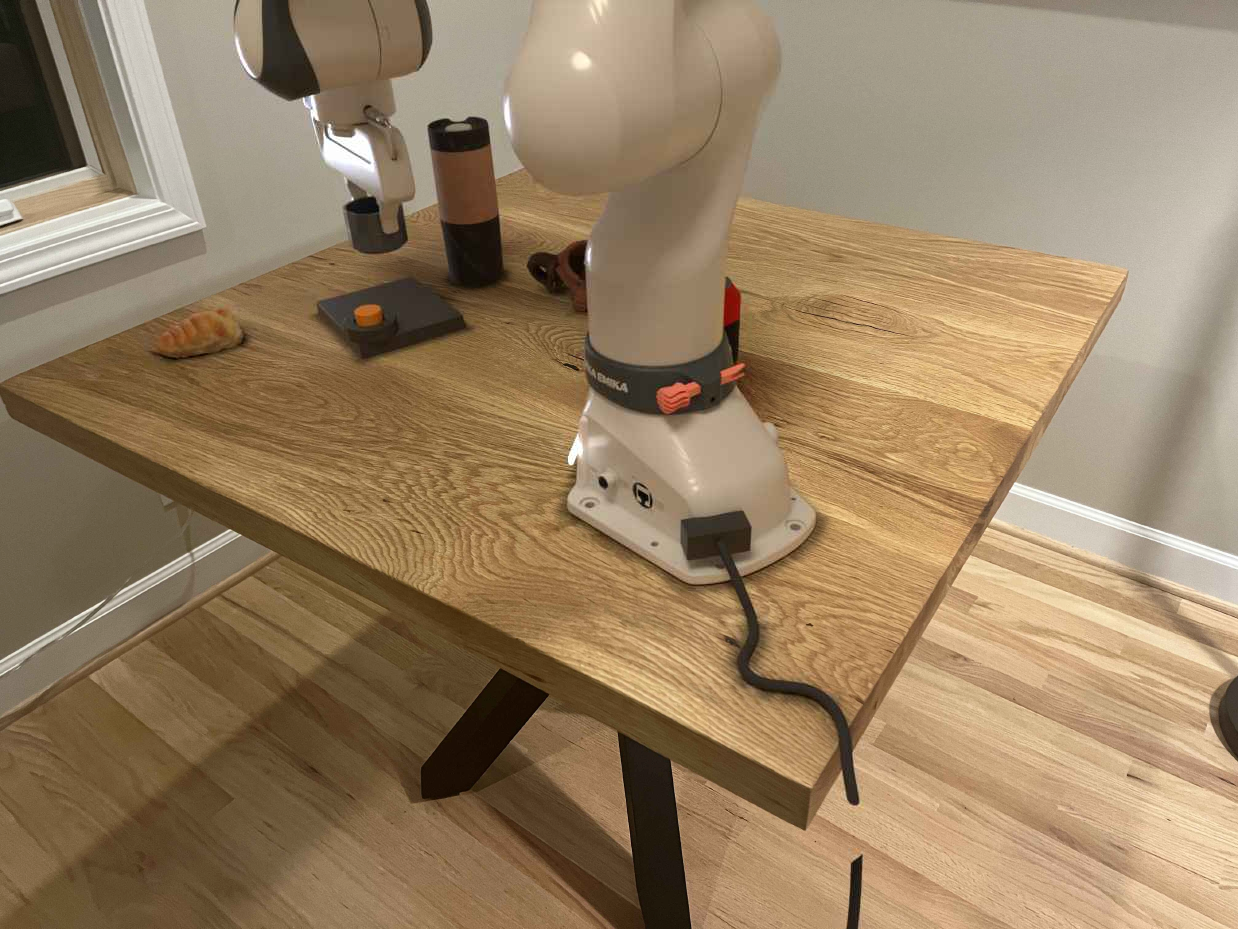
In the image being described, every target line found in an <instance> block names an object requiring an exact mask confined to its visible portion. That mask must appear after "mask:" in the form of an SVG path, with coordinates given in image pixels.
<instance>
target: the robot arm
mask: <svg viewBox="0 0 1238 929" xmlns="http://www.w3.org/2000/svg"><path fill="white" fill-rule="evenodd" d="M431 17H432V16H431V12H430V8H429V4H428V1H427V0H236V1H235V3H234V10H233V33H234V40H235V45H236V49H237V52H238V56H239V59H240V62H241V64H242V67H243V69H244V71H245V72H246V74H247V76H248V77H249V78H250V79H251V80H252V81H253V82H254V83H256V84H257V85H259V86H260V87H262V88H263V89H264V90H266V91H267V92H268V93H269V92H270V93H271V94H273V95H275V96H277V97H278V98H281V99H283V100H284V101H287V102H293V101H297V100H300V99H302V101H303V105H304V106H305V108H307V109H309V110H310V117H311V122H312V125H313V129H314V134H315V137H316V139H317V143H318V147H319V150H320V154H321V155H322V158H323V160H324V162H325V164H326V166H328V167H329V168H330V169H332V170H333V171H335V172H336V173H338V174H339V175H341V176H342V178H343V181H344V184H345V185H344V186H345V187H346V189H347V192H348V194H349V197H350V198H351V201H352V200H355V199H358V198H362V197H367V196H368V194H369V195H370V196H373V197H375V198H376V201H377V204H378V205H379V212H380V216H377V217H378V222H379V227H380V229H381V230H382V231H383V232H385V233H386V234H390V233H394V232H397V231H398V229H399V226H398V220H397V214H398V208H399V203H402V204H403V203H407V202H411V201H414V199H415V197H416V196H415V195H416V184H415V179H414V173H413V169H412V164H411V158H410V155H409V151H408V147H407V144H406V139H405V137H404V135H403V133H402V132H401V131H400V129H399V128H398V127H397V126H394V125H392V124H391V122H390V117H392V116H394V115H395V114H396V112H397V105H396V100H395V93H394V89H393V83H392V79H396V78H402V77H405V76H406V77H407V76H408V75H409V76H410V75H411V74H413V73H415V72H416V73H417V72H419V71H420V69H421V68H422V67H423V66H424V65H425V63H426V61H427V59H428V57H429V54H430V52H431V49H432V46H433V40H434V38H433V24H432V18H431ZM771 20H772V19H770V17H769V16H768V14H767V13H766V12H765V11H764V10H763V9H762V8H761V7H760V6H759V5H758V4H757V3H755V2H754V1H752V0H532V4H531V11H530V18H529V22H528V26H527V30H526V32H525V36H524V39H523V42H522V43H521V44H522V45H521V47H520V48H519V51H518V53H517V55H516V57H515V58H514V60H513V62H512V64H511V65H510V68H509V69H508V72H507V74H506V78H505V82H504V86H503V93H502V114H503V120H504V126H505V131H506V135H507V137H508V140H509V143H510V146H511V148H512V150H513V152H514V154H515V156H516V157H517V159H518V161H519V162H520V164H521V165H522V166H523V168H524V169H525V170H526V171H527V173H528V174H529V175H530V176H531V177H532V178H533V179H534V180H535V181H536V182H538V184H540V185H542V186H543V187H544V188H546V189H548V190H549V191H551V192H554V193H556V194H559V195H563V196H567V197H568V196H569V197H581V196H590V195H591V196H592V195H593V196H594V195H601V194H608V195H607V198H606V201H605V203H604V206H603V207H602V208H603V209H602V211H601V213H600V215H599V217H598V219H597V220H596V222H595V224H594V225H593V227H592V229H591V231H590V233H589V236H588V238H587V240H588V242H587V246H586V251H585V260H584V264H585V271H586V281H585V285H586V286H585V287H586V288H587V306H588V308H587V320H588V330H587V332H586V333H585V337H584V348H583V364H584V367H585V368H584V369H585V378H586V381H587V383H588V385H589V389H588V393H587V396H586V400H585V403H584V406H583V409H582V412H581V414H580V417H579V420H578V425H577V426H578V427H577V436H576V438H575V440H574V443H573V445H572V447H571V450H570V452H569V455H568V464H569V465H571V466H573V464H574V463H575V460H576V482H575V484H574V486H572V488H571V490H570V492H569V493H568V495H567V498H566V509H567V512H569V513H570V514H572V515H573V516H575V517H576V518H578V519H580V520H581V521H583V522H585V523H586V524H588V525H589V526H592V528H594V529H596V530H598V531H600V532H601V533H602V534H605V535H606V536H608V537H609V538H611V539H612V540H614V541H616V542H618V543H620V544H621V545H622V546H624V547H626V548H628V549H629V550H631V551H632V552H634V553H635V554H637V555H639V556H640V557H642V558H644V559H645V560H647V561H649V562H650V563H652V564H653V565H656V567H658V568H660V569H662V570H664V571H666V572H667V573H669V574H670V575H671V576H674V577H675V578H677V579H679V580H680V581H682V582H684V583H687V584H689V585H708V584H709V585H711V584H716V583H717V584H718V583H724V582H727V581H731V584H732V585H733V587H734V588H733V589H734V590H735V593H736V596H737V598H738V600H739V602H740V605H741V607H742V609H743V613H744V615H745V617H746V621H747V626H748V633H747V638H746V641H745V642H744V644H743V646H742V648H741V649H740V651H739V652H738V655H737V658H736V666H737V669H738V671H739V673H740V675H741V676H742V677H743V678H744V679H745V681H747V682H748V683H750V684H751V685H753V686H754V687H758V688H761V689H763V690H764V689H765V690H770V691H775V692H785V693H793V694H799V695H804V696H807V697H810V698H812V699H813V700H816V701H817V702H818V703H819V704H820V705H822V706H823V707H824V708H825V710H827V712H828V713H829V715H830V716H831V717H832V718H833V721H834V723H835V725H836V729H837V734H838V742H839V754H840V755H839V756H840V765H841V773H842V780H843V784H844V790H845V796H846V799H847V801H848V804H850V805H852V806H854V807H855V806H858V805H860V794H859V789H858V784H857V779H856V778H857V777H856V773H855V765H854V757H853V756H854V754H853V744H852V737H851V731H850V727H849V724H848V720H847V718H846V716H845V714H844V712H843V710H842V709H841V708H840V706H839V705H838V703H837V702H836V701H835V700H834V699H833V698H832V697H831V696H830V695H829V694H827V693H826V691H824V690H822V689H821V688H819V687H817V686H814V685H812V684H809V683H805V682H804V683H803V682H799V681H792V680H783V679H774V678H769V677H764V676H761V675H759V674H758V673H755V672H754V671H753V670H752V669H751V668H750V666H749V663H748V661H749V658H750V655H751V654H752V652H753V651H754V649H755V647H756V646H757V642H758V640H759V635H760V628H759V621H758V617H757V612H756V609H755V607H754V604H753V602H752V600H751V598H750V596H749V592H748V591H747V589H746V586H745V583H744V581H743V579H742V577H744V576H747V575H749V574H752V573H754V572H757V571H759V570H761V569H763V568H765V567H767V566H769V565H771V564H773V563H775V562H777V561H779V560H780V559H782V558H784V557H786V556H787V555H789V554H791V553H792V552H793V551H795V550H796V549H797V548H799V547H800V546H801V545H802V544H804V542H806V540H807V539H808V538H809V537H810V535H811V534H812V532H813V530H814V528H815V527H816V523H817V513H816V511H815V510H814V508H813V507H812V506H811V505H810V504H809V503H808V502H807V501H806V500H805V499H804V498H803V497H802V496H801V495H800V494H799V493H798V492H797V491H796V490H795V488H793V487H792V486H791V485H790V475H789V467H788V463H787V458H786V456H785V455H784V453H783V450H781V448H780V447H779V446H778V444H779V441H780V436H779V432H778V429H777V427H776V426H775V424H774V423H772V422H770V421H766V422H762V420H761V419H760V417H759V416H758V415H757V413H756V412H755V410H754V409H753V407H752V406H751V405H750V402H749V401H748V400H747V399H746V398H745V396H744V394H743V393H742V391H741V389H739V387H738V384H737V385H736V382H737V383H738V379H740V378H741V377H744V376H745V373H744V372H740V371H741V370H743V369H744V368H745V367H746V364H745V363H744V362H742V363H738V365H736V366H734V363H733V358H732V352H731V347H730V345H729V342H728V338H727V334H726V332H725V330H724V329H723V318H724V297H725V279H726V276H727V260H728V251H729V250H728V249H729V243H730V237H731V233H732V232H731V231H732V227H733V221H734V218H735V213H736V209H737V205H738V201H739V198H740V194H741V189H742V185H743V182H744V178H745V174H746V170H747V165H748V162H749V158H750V154H751V151H752V147H753V143H754V140H755V136H756V132H757V130H758V127H759V124H760V122H761V120H762V116H763V115H764V113H765V111H766V108H767V106H768V105H769V103H770V101H771V100H772V98H773V96H774V94H775V92H776V90H777V87H778V85H779V82H780V77H781V72H782V61H783V60H782V59H783V58H782V48H781V42H780V38H779V36H778V33H777V31H776V30H777V29H776V28H775V26H774V24H773V22H772V21H771ZM739 372H740V373H739ZM736 373H737V374H736ZM863 855H864V854H860V855H859V856H858V857H857V858H855V859H854V860H852V861H851V862H850V871H849V872H850V874H849V875H850V876H849V896H848V907H847V908H848V909H847V910H848V911H847V920H846V928H845V929H859V923H860V913H861V904H862V903H861V902H862V887H863V886H862V884H863V862H864V861H863V860H864V856H863Z"/></svg>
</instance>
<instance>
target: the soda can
mask: <svg viewBox="0 0 1238 929" xmlns="http://www.w3.org/2000/svg"><path fill="white" fill-rule="evenodd" d="M741 307H742V294H741V292H740V291H739V289H738V288H737V287H736V285H735V283H734V282H733V281H732V280H731V278H730V277H729V276H727V275H726V279H725V297H724V318H723V329H724V330H725V332H726V334H727V338H728V342H729V345H730V347H731V352H732V358H733V363H734V366H736V365H739V350H740V349H739V347H740V330H741V329H740V326H741ZM736 374H738V372H737V373H736ZM736 385H737V386H738V381H737V382H736Z"/></svg>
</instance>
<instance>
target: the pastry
mask: <svg viewBox="0 0 1238 929" xmlns="http://www.w3.org/2000/svg"><path fill="white" fill-rule="evenodd" d="M243 338H244V334H243V331H242V329H241V327H240V324H239V323H238V321H237V320H236V318H235V317H234V315H233V312H232V311H231V309H229V307H228V306H222V305H219V306H217V308H216V309H214V310H213V309H212V310H204V311H201V312H195V313H192V314H191V315H189V316H188V317H187V318H186V319H183V320H181V322H179V323H178V324H174V325H171V326H170V327H169V328H168V329H167V330H164V331H163V332H162V333H159V335H158V336H157V338H156V340H155V348H156V351H157V353H158V354H160V355H163V356H165V357H167V358H168V357H169V358H176V359H177V360H178V359H179V358H182V359H186V358H188V357H191V356H197V357H198V356H200V355H205V354H211V353H216V352H219V351H220V350H222V349H229V348H233V347H235V346H237V345H239V344H241V343H242V342H243Z"/></svg>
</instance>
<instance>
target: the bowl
mask: <svg viewBox="0 0 1238 929" xmlns="http://www.w3.org/2000/svg"><path fill="white" fill-rule="evenodd" d="M403 205H404V204H403V203H399V208H398V214H397V220H398V226H399V229H398V231H397V232H394V233H390V234H386V233H385V232H383V231H382V230H381V229H380V227H379V222H378V217H377V216H380V212H379V205H378V204H377V201H376V198H375V197H373V196H372V195H367V197H362V198H358V199H355V200H352V199H351V200H350V201H347V202H346V203H345V204H343V206H342V214H343V219H344V223H345V228H346V234H347V237H348V238H347V239H348V242H349V247H350V248H352V249H353V250H354V251H357V252H359V253H361V254H365V255H382V254H383V255H384V254H388V253H392V252H395V251H397V250H399V249H401V248H402V247H403V246H404V245H406V244H407V243H408V242H409V234H408V228H407V222H406V215H405V210H404V206H403Z"/></svg>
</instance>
